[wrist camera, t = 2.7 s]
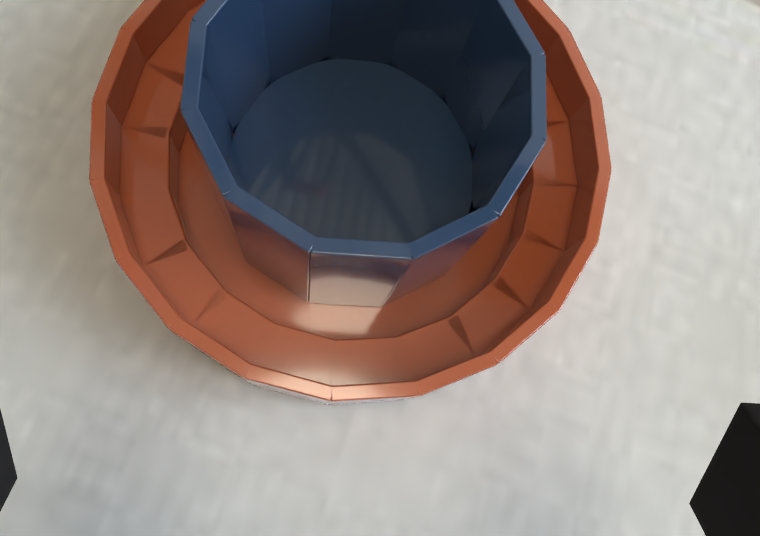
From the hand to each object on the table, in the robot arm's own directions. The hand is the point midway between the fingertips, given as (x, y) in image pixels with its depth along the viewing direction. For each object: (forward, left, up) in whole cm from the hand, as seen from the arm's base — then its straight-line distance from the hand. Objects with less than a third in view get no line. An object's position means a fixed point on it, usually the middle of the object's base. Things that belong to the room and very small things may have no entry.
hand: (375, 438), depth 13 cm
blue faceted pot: (-5, +9, -14) cm, 17 cm away
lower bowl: (-5, +9, -14) cm, 17 cm away
